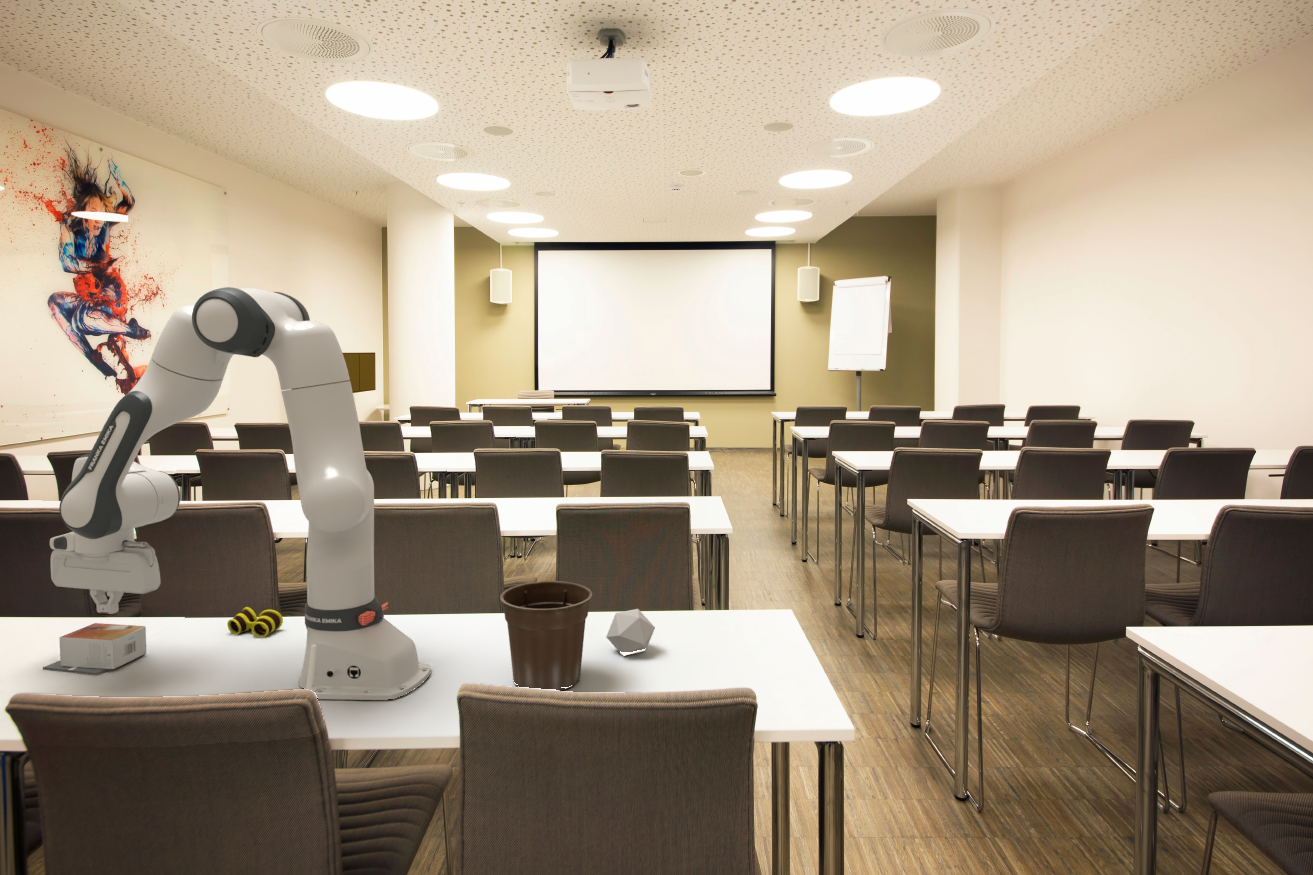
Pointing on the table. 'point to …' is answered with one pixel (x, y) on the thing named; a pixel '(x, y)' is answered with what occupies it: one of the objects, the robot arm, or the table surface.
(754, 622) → the table surface
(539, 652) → the plant pot
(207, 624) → the table surface
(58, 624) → the table surface
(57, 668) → the mat
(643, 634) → the die
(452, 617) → the table surface
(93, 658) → the small box
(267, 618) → the opera glasses
